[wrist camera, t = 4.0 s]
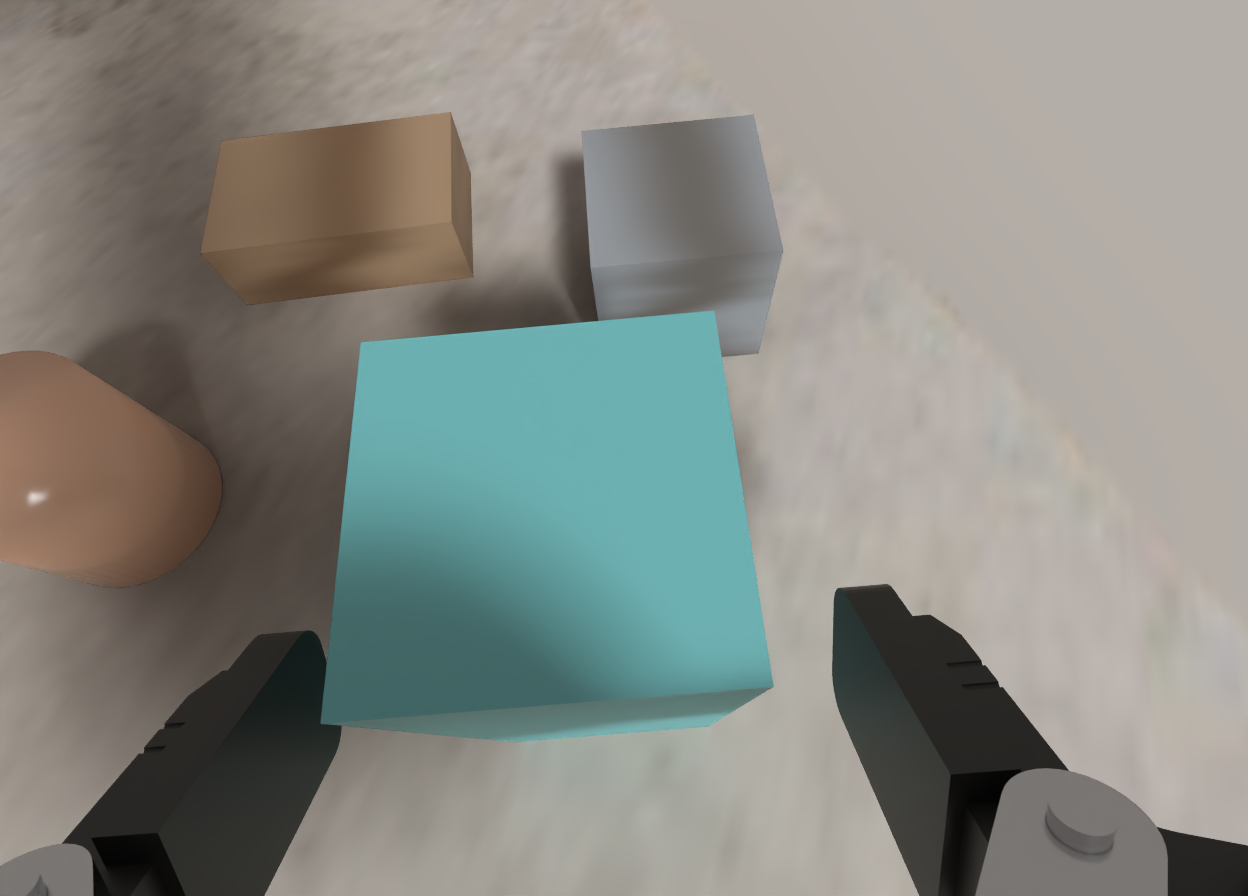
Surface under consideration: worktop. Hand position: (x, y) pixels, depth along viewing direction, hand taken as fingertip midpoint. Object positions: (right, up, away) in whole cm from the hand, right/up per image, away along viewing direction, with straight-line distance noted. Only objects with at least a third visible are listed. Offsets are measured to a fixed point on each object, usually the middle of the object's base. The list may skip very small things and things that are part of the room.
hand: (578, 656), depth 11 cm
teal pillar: (0, -2, +8) cm, 8 cm away
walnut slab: (-9, +11, +15) cm, 20 cm away
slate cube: (+2, +8, +13) cm, 15 cm away
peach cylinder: (-14, +1, +10) cm, 17 cm away
